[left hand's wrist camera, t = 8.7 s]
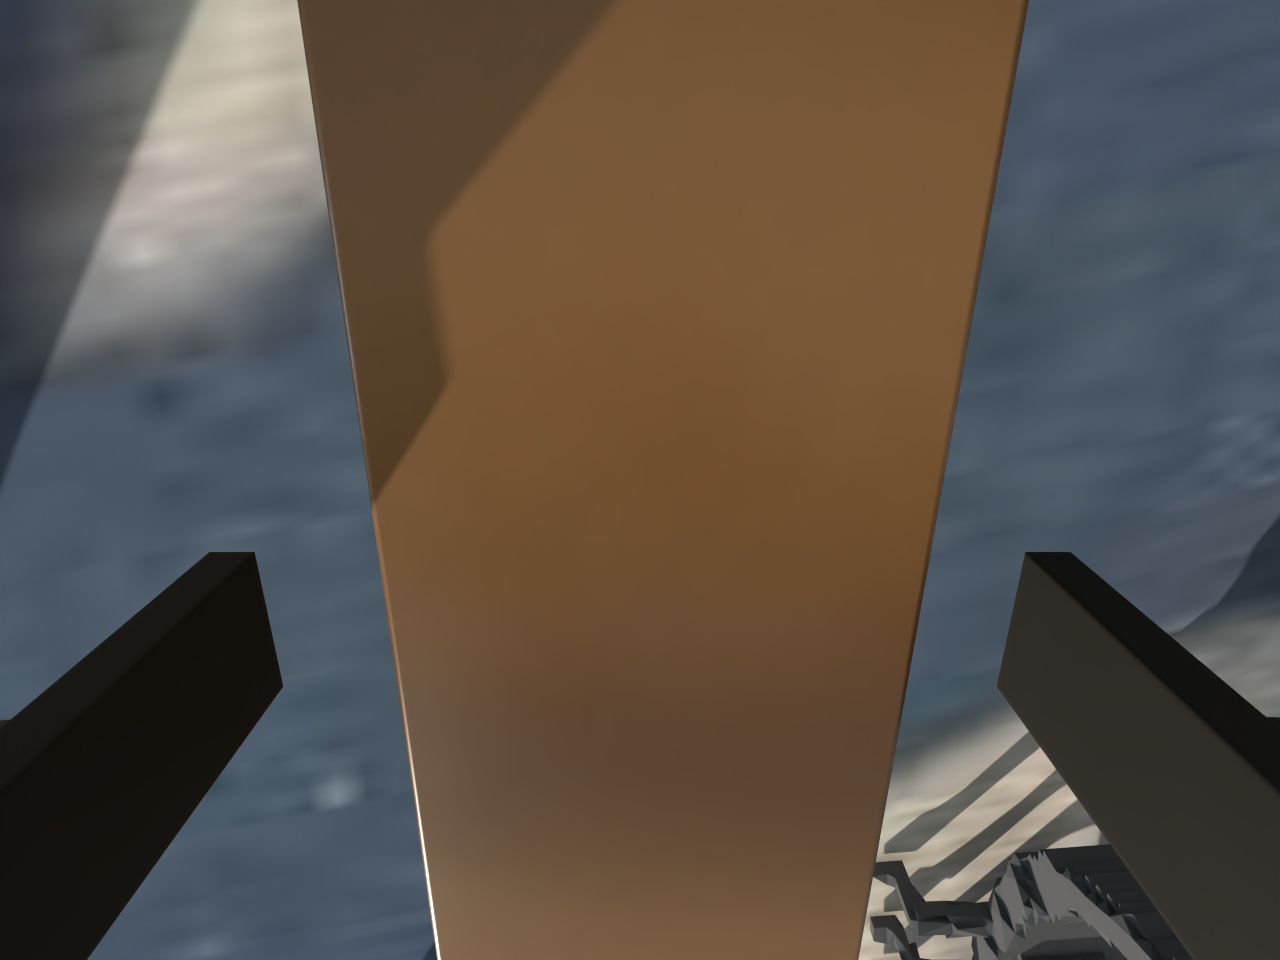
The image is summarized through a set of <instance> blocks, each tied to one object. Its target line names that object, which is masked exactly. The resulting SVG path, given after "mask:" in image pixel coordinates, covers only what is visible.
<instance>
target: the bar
mask: <svg viewBox="0 0 1280 960" xmlns="http://www.w3.org/2000/svg"><path fill="white" fill-rule="evenodd" d="M297 1H298V8H299V14H300V21H301V28H302V35H303V42H304V49H305V56H306V62H307V69H308V76H309V83H310V90H311V97H312V104H313V110H314V117H315V124H316V131H317V138H318V145H319V152H320V158H321V165H322V172H323V179H324V186H325V193H326V200H327V206H328V213H329V220H330V227H331V234H332V241H333V248H334V254H335V261H336V268H337V275H338V282H339V289H340V296H341V303H342V309H343V316H344V323H345V330H346V337H347V344H348V351H349V357H350V364H351V371H352V378H353V385H354V392H355V399H356V405H357V412H358V419H359V426H360V433H361V440H362V447H363V453H364V460H365V467H366V474H367V481H368V488H369V495H370V501H371V508H372V515H373V522H374V529H375V536H376V543H377V549H378V556H379V563H380V570H381V577H382V584H383V591H384V597H385V604H386V611H387V618H388V625H389V632H390V639H391V645H392V652H393V659H394V666H395V673H396V680H397V687H398V693H399V700H400V707H401V714H402V721H403V728H404V735H405V742H406V748H407V755H408V762H409V769H410V776H411V783H412V790H413V796H414V803H415V810H416V817H417V824H418V831H419V838H420V844H421V851H422V858H423V865H424V872H425V879H426V886H427V892H428V899H429V906H430V913H431V920H432V927H433V934H434V940H435V947H436V954H437V960H858V958H859V952H860V946H861V941H862V935H863V929H864V924H865V918H866V913H867V907H868V901H869V896H870V890H871V884H872V879H873V873H874V868H875V862H876V856H877V851H878V845H879V839H880V834H881V828H882V823H883V817H884V811H885V806H886V800H887V795H888V789H889V783H890V778H891V772H892V766H893V761H894V755H895V750H896V744H897V738H898V733H899V727H900V721H901V716H902V710H903V705H904V699H905V693H906V688H907V682H908V676H909V671H910V665H911V660H912V654H913V648H914V643H915V637H916V631H917V626H918V620H919V615H920V609H921V603H922V598H923V592H924V586H925V581H926V575H927V570H928V564H929V558H930V553H931V547H932V542H933V536H934V530H935V525H936V519H937V513H938V508H939V502H940V497H941V491H942V485H943V480H944V474H945V468H946V463H947V457H948V452H949V446H950V440H951V435H952V429H953V423H954V418H955V412H956V407H957V401H958V395H959V390H960V384H961V378H962V373H963V367H964V362H965V356H966V350H967V345H968V339H969V333H970V328H971V322H972V317H973V311H974V305H975V300H976V294H977V289H978V283H979V277H980V272H981V266H982V260H983V255H984V249H985V244H986V238H987V232H988V227H989V221H990V215H991V210H992V204H993V199H994V193H995V187H996V182H997V176H998V170H999V165H1000V159H1001V154H1002V148H1003V142H1004V137H1005V131H1006V125H1007V120H1008V114H1009V109H1010V103H1011V97H1012V92H1013V86H1014V80H1015V75H1016V69H1017V64H1018V58H1019V52H1020V47H1021V41H1022V35H1023V30H1024V24H1025V19H1026V13H1027V7H1028V2H1029V0H297Z"/></svg>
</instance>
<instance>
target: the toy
mask: <svg viewBox="0 0 1280 960" xmlns="http://www.w3.org/2000/svg"><path fill="white" fill-rule="evenodd" d="M873 877H874V878H876V879H878V880H880V881H882V882H883V883H885V884H887V885H890V886H892V887H895V889H896V892H897V894H898V897H899V899H900V902H901V905H902V907H903V910H904V912H905V915H906V918H907V920H908V923H909V925H910V928H911V930H912V931H914V932H915V933H916V934H918V935H919V936H920V935H946V938H955V937H964V936H972V949H973V952H974V954H973V958H972V960H1193V959H1192V957H1191V956H1190V955H1189V953H1188V952H1187V950H1186V949H1185V948H1184V946H1183V945H1182V943H1181V942H1180V941H1179V939H1178V938H1177V937H1176V935H1175V934H1174V932H1173V931H1172V930H1171V928H1170V927H1169V925H1168V924H1167V923H1166V921H1165V920H1164V918H1163V917H1162V916H1161V914H1160V913H1159V911H1158V910H1157V909H1156V907H1155V906H1154V904H1153V903H1152V902H1151V900H1150V899H1149V898H1148V896H1147V895H1146V893H1145V892H1144V891H1143V889H1142V888H1141V886H1140V885H1139V884H1138V882H1137V881H1136V879H1135V878H1134V877H1133V875H1132V874H1131V872H1130V871H1129V870H1128V868H1127V867H1126V865H1125V864H1124V863H1123V861H1122V860H1121V859H1120V857H1119V856H1118V854H1117V853H1116V852H1115V850H1114V849H1113V847H1112V846H1111V845H1110V844H1108V845H1095V846H1082V847H1069V848H1056V849H1043V850H1039V852H1025V853H1014V854H1013V856H1012V858H1009V861H1008V865H1007V868H1006V871H1005V873H1004V876H1003V877H1001V878H997V881H996V883H995V885H994V888H993V891H992V893H991V896H990V899H989V902H980V903H974V902H958V901H929V902H925V900H924V899H923V897H922V896H921V895H920V894H919V892H918V891H917V890H916V889H915V887H914V886H913V885H912V884H911V882H910V879H909V877H908V874H907V872H906V869H905V867H904V864H903V862H902V861H890V862H876V863H875V868H874V873H873ZM870 930H871V934H872V937H873V940H874V941H876V942H880V943H885V944H889V945H894V946H895V947H896V949H897V950H898V952H899V954H900V958H901V960H929V959H922V958H920V957H919V953H918V950H917V946H916V942H914V943H911V944H909V943H908V940H907V937H906V934H905V931H904V928H903V925H902V924H901V923H900V921H899V920H898V919H897V917H896V916H895V915H888V916H874V917H870Z"/></svg>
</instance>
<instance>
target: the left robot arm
mask: <svg viewBox="0 0 1280 960" xmlns="http://www.w3.org/2000/svg"><path fill="white" fill-rule="evenodd" d="M282 687H283V684H282V679H281V674H280V669H279V665H278V660H277V655H276V651H275V646H274V641H273V637H272V632H271V627H270V623H269V618H268V613H267V608H266V604H265V599H264V594H263V590H262V585H261V580H260V576H259V571H258V566H257V561H256V557H255V552H209V553H208V554H207V555H206V556H204V557H203V558H202V559H201V560H200V561H198V562H197V563H196V564H195V565H194V566H192V567H191V568H190V569H189V570H188V571H187V572H185V573H184V574H183V575H182V576H181V577H179V578H178V579H177V580H176V581H175V582H174V583H172V584H171V585H170V586H169V587H168V588H166V589H165V590H164V591H163V592H162V593H160V594H159V595H158V596H157V597H156V598H155V599H153V600H152V601H151V602H150V603H149V604H147V605H146V606H145V607H144V608H143V609H141V610H140V611H139V612H138V613H137V614H136V615H134V616H133V617H132V618H131V619H130V620H128V621H127V622H126V623H125V624H124V625H123V626H121V627H120V628H119V629H118V630H117V631H115V632H114V633H113V634H112V635H111V636H109V637H108V638H107V639H106V640H105V641H104V642H102V643H101V644H100V645H99V646H98V647H96V648H95V649H94V650H93V651H92V652H90V653H89V654H88V655H87V656H86V657H85V658H83V659H82V660H81V661H80V662H79V663H77V664H76V665H75V666H74V667H73V668H71V669H70V670H69V671H68V672H67V673H66V674H64V675H63V676H62V677H61V678H60V679H58V680H57V681H56V682H55V683H54V684H53V685H51V686H50V687H49V688H48V689H47V690H45V691H44V692H43V693H42V694H41V695H39V696H38V697H37V698H36V699H35V700H34V701H32V702H31V703H30V704H29V705H28V706H26V707H25V708H24V709H23V710H22V711H20V712H19V713H18V714H17V715H16V716H15V717H13V718H12V719H11V720H1V721H0V960H87V959H88V957H89V956H90V955H91V953H92V952H93V950H94V949H95V948H96V946H97V945H98V943H99V942H100V941H101V939H102V938H103V937H104V935H105V934H106V932H107V931H108V930H109V928H110V927H111V925H112V924H113V923H114V921H115V920H116V918H117V917H118V916H119V914H120V913H121V911H122V910H123V909H124V907H125V906H126V904H127V903H128V902H129V900H130V899H131V898H132V896H133V895H134V893H135V892H136V891H137V889H138V888H139V886H140V885H141V884H142V882H143V881H144V879H145V878H146V877H147V875H148V874H149V872H150V871H151V870H152V868H153V867H154V865H155V864H156V863H157V861H158V860H159V859H160V857H161V856H162V854H163V853H164V852H165V850H166V849H167V847H168V846H169V845H170V843H171V842H172V840H173V839H174V838H175V836H176V835H177V833H178V832H179V831H180V829H181V828H182V826H183V825H184V824H185V822H186V821H187V820H188V818H189V817H190V815H191V814H192V813H193V811H194V810H195V808H196V807H197V806H198V804H199V803H200V801H201V800H202V799H203V797H204V796H205V794H206V793H207V792H208V790H209V789H210V787H211V786H212V785H213V783H214V782H215V781H216V779H217V778H218V776H219V775H220V774H221V772H222V771H223V769H224V768H225V767H226V765H227V764H228V762H229V761H230V760H231V758H232V757H233V755H234V754H235V753H236V751H237V750H238V748H239V747H240V746H241V744H242V743H243V742H244V740H245V739H246V737H247V736H248V735H249V733H250V732H251V730H252V729H253V728H254V726H255V725H256V723H257V722H258V721H259V719H260V718H261V716H262V715H263V714H264V712H265V711H266V709H267V708H268V707H269V705H270V704H271V703H272V701H273V700H274V698H275V697H276V696H277V694H278V693H279V691H280V690H281V689H282ZM997 687H998V689H999V690H1000V691H1001V693H1002V694H1003V696H1004V697H1005V698H1006V700H1007V701H1008V703H1009V704H1010V705H1011V707H1012V708H1013V709H1014V711H1015V712H1016V714H1017V715H1018V716H1019V718H1020V719H1021V721H1022V722H1023V723H1024V725H1025V726H1026V728H1027V729H1028V730H1029V732H1030V733H1031V735H1032V736H1033V737H1034V739H1035V740H1036V742H1037V743H1038V744H1039V746H1040V747H1041V748H1042V750H1043V751H1044V753H1045V754H1046V755H1047V757H1048V758H1049V760H1050V761H1051V762H1052V764H1053V765H1054V767H1055V768H1056V769H1057V771H1058V772H1059V774H1060V775H1061V776H1062V778H1063V779H1064V781H1065V782H1066V783H1067V785H1068V786H1069V787H1070V789H1071V790H1072V792H1073V793H1074V794H1075V796H1076V797H1077V799H1078V800H1079V801H1080V803H1081V804H1082V806H1083V807H1084V808H1085V810H1086V811H1087V813H1088V814H1089V815H1090V817H1091V818H1092V820H1093V821H1094V822H1095V824H1096V825H1097V826H1098V828H1099V829H1100V831H1101V832H1102V833H1103V835H1104V836H1105V838H1106V839H1107V840H1108V842H1109V843H1110V845H1111V846H1112V847H1113V849H1114V850H1115V852H1116V853H1117V854H1118V856H1119V857H1120V859H1121V860H1122V861H1123V863H1124V864H1125V865H1126V867H1127V868H1128V870H1129V871H1130V872H1131V874H1132V875H1133V877H1134V878H1135V879H1136V881H1137V882H1138V884H1139V885H1140V886H1141V888H1142V889H1143V891H1144V892H1145V893H1146V895H1147V896H1148V898H1149V899H1150V900H1151V902H1152V903H1153V904H1154V906H1155V907H1156V909H1157V910H1158V911H1159V913H1160V914H1161V916H1162V917H1163V918H1164V920H1165V921H1166V923H1167V924H1168V925H1169V927H1170V928H1171V930H1172V931H1173V932H1174V934H1175V935H1176V937H1177V938H1178V939H1179V941H1180V942H1181V943H1182V945H1183V946H1184V948H1185V949H1186V950H1187V952H1188V953H1189V955H1190V956H1191V957H1192V959H1193V960H1280V718H1279V717H1265V716H1264V715H1263V714H1262V713H1261V712H1260V711H1258V710H1257V709H1256V708H1255V707H1254V706H1252V705H1251V704H1250V703H1249V702H1248V701H1246V700H1245V699H1244V698H1243V697H1242V696H1241V695H1239V694H1238V693H1237V692H1236V691H1235V690H1233V689H1232V688H1231V687H1230V686H1229V685H1227V684H1226V683H1225V682H1224V681H1223V680H1222V679H1220V678H1219V677H1218V676H1217V675H1216V674H1214V673H1213V672H1212V671H1211V670H1210V669H1208V668H1207V667H1206V666H1205V665H1204V664H1203V663H1201V662H1200V661H1199V660H1198V659H1197V658H1195V657H1194V656H1193V655H1192V654H1191V653H1190V652H1188V651H1187V650H1186V649H1185V648H1184V647H1182V646H1181V645H1180V644H1179V643H1178V642H1176V641H1175V640H1174V639H1173V638H1172V637H1171V636H1169V635H1168V634H1167V633H1166V632H1165V631H1163V630H1162V629H1161V628H1160V627H1159V626H1157V625H1156V624H1155V623H1154V622H1153V621H1152V620H1150V619H1149V618H1148V617H1147V616H1146V615H1144V614H1143V613H1142V612H1141V611H1140V610H1139V609H1137V608H1136V607H1135V606H1134V605H1133V604H1131V603H1130V602H1129V601H1128V600H1127V599H1125V598H1124V597H1123V596H1122V595H1121V594H1120V593H1118V592H1117V591H1116V590H1115V589H1114V588H1112V587H1111V586H1110V585H1109V584H1108V583H1106V582H1105V581H1104V580H1103V579H1102V578H1101V577H1099V576H1098V575H1097V574H1096V573H1095V572H1093V571H1092V570H1091V569H1090V568H1089V567H1088V566H1086V565H1085V564H1084V563H1083V562H1082V561H1080V560H1079V559H1078V558H1077V557H1076V556H1074V555H1073V554H1072V553H1071V552H1025V557H1024V561H1023V566H1022V571H1021V576H1020V580H1019V585H1018V590H1017V594H1016V599H1015V604H1014V608H1013V613H1012V618H1011V623H1010V627H1009V632H1008V637H1007V641H1006V646H1005V651H1004V655H1003V660H1002V665H1001V669H1000V674H999V679H998V684H997Z"/></svg>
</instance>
